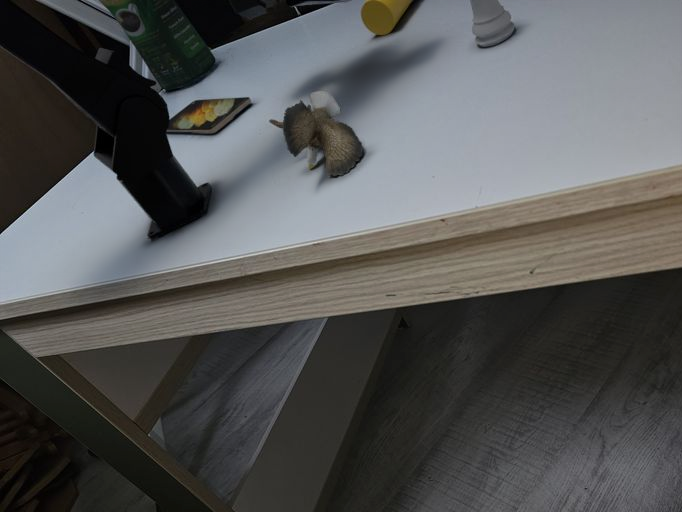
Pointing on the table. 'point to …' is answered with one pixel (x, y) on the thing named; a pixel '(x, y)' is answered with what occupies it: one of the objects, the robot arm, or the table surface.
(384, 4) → the yellow cylindrical tube
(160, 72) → the coffee jar
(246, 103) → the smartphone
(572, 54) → the table surface
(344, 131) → the eagle figurine
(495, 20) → the rook chess piece
